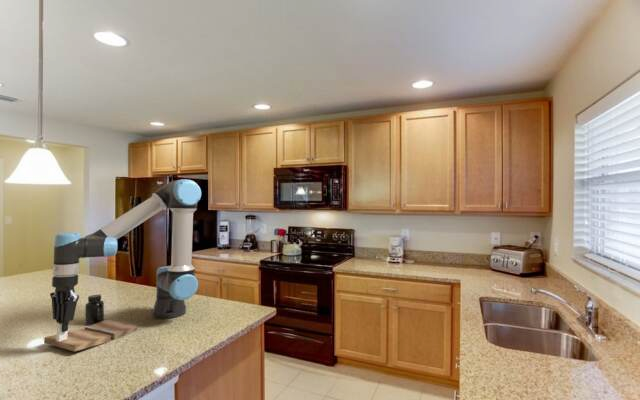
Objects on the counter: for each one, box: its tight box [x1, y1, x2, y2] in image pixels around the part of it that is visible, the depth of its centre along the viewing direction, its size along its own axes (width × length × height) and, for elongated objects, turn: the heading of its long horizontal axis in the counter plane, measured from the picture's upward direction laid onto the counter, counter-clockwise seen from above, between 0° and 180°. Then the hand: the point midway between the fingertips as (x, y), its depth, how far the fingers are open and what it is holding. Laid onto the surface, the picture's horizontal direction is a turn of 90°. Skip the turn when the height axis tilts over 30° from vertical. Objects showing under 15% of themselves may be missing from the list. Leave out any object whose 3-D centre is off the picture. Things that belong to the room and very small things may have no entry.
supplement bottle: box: [84, 294, 105, 326], centre depth 145 cm, size 7×7×12 cm
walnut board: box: [83, 319, 138, 341], centre depth 135 cm, size 10×18×2 cm, turn 68°
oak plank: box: [43, 328, 112, 353], centre depth 124 cm, size 13×18×2 cm
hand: (61, 339), depth 118 cm, fingers closed
